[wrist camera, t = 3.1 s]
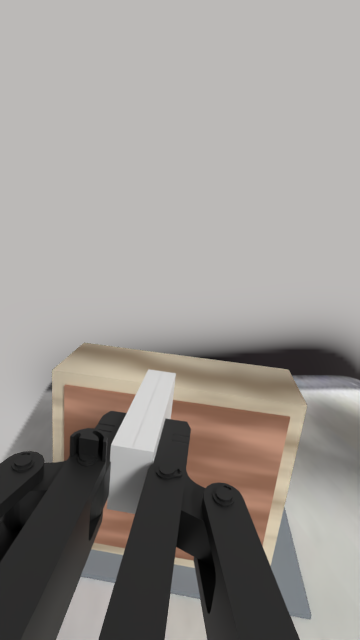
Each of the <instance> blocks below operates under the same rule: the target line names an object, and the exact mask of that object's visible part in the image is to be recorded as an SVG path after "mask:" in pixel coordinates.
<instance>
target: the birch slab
mask: <svg viewBox="0 0 360 640" xmlns="http://www.w3.org/2000/svg"><path fill="white" fill-rule="evenodd" d="M148 369H150V370H156V371H163V372H170V373H176V378H175V386H174V395H173V403H172V412H171V419H173V420H179V421H185V422H188V424H189V426H190V428H191V433H190V441H189V449H188V457H187V465H186V471H187V474H188V476H189V477H190V479H191V480H192V481H194V482H195V483H196V484H198V485H200V486H202V487H204V488H206V487H207V486H209V485H210V484H212V483H218V482H220V483H226V484H229V485H231V486H233V487H235V488H236V489H237V490H238V491H239V492H240V493H241V495H242V496H243V498H244V501H245V503H246V506H247V508H248V511H249V514H250V516H251V519H252V521H253V524H254V526H255V529H256V531H257V534H258V536H259V539H260V541H261V544H262V546H263V549H264V551H265V554H266V556H267V559H268V561H269V564H270V566H271V562H272V558H273V553H274V549H275V545H276V540H277V536H278V531H279V527H280V523H281V518H282V514H283V510H284V505H285V501H286V497H287V492H288V488H289V484H290V479H291V475H292V470H293V466H294V462H295V457H296V453H297V449H298V444H299V440H300V436H301V431H302V427H303V422H304V418H305V414H306V409H307V404H306V402H305V400H304V398H303V396H302V395H301V393H300V391H299V389H298V387H297V385H296V383H295V381H294V379H293V377H292V376H291V374H290V372H289V370H286V369H279V368H271V367H264V366H257V365H249V364H241V363H233V362H226V361H218V360H211V359H204V358H196V357H189V356H181V355H173V354H165V353H157V352H150V351H143V350H135V349H127V348H120V347H113V346H105V345H98V344H90V343H83V344H82V345H81V346H80V347H79V348H77V349H76V350H75V351H74V352H73V353H72V354H70V355H69V356H68V357H67V358H66V359H65V360H63V361H62V362H61V363H60V364H59V365H57V366H56V367H55V368H54V369H53V370H52V424H53V462H62V461H66V460H67V459H68V458H69V456H70V436H71V435H72V434H73V433H74V432H76V431H78V430H80V429H86V428H95V427H96V426H97V424H98V422H99V421H100V419H101V418H102V416H103V415H105V414H106V413H108V412H109V411H117V412H123V413H127V412H128V410H129V408H130V406H131V404H132V401H133V399H134V397H135V395H136V393H137V391H138V389H139V387H140V385H141V383H142V381H143V379H144V377H145V375H146V373H147V371H148ZM134 516H135V514H132V513H126V512H121V511H115V510H110V509H107V501H106V503H105V506H104V508H103V518H102V523H101V525H100V528H99V531H98V533H97V536H96V538H95V541H94V543H93V546H92V548H91V549H93V550H98V551H104V552H109V553H115V554H120V555H123V554H124V550H125V547H126V544H127V540H128V537H129V533H130V530H131V526H132V523H133V519H134ZM174 564H176V565H181V566H187V567H192V568H195V566H194V556H192V555H190V554H188V553H186V552H184V551H183V550H181V549H179V548H177V547H176V553H175V560H174Z"/></svg>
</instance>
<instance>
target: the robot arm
mask: <svg viewBox="0 0 360 640" xmlns="http://www.w3.org/2000/svg"><path fill="white" fill-rule="evenodd" d="M175 378H176V373H170V372H163V371H156V370H150V369H148V371H147V373H146V375H145V377H144V379H143V381H142V383H141V385H140V387H139V389H138V391H137V393H136V395H135V397H134V399H133V401H132V404H131V406H130V408H129V410H128V412H127V413H123V412H117V411H109V412H108V413H106V414H105V415H103V416H102V418H101V419H100V421H99V422H98V424H97V426H96V427H95V428H86V429H80V430H78V431H76V432H74V433H73V434H72V435H71V436H70V456H69V458H68V459H67V460H66V461H62V462H53V463H44V458H43V456H42V455H40V454H39V453H37V452H32V451H28V452H21V453H17V454H14V455H12V456H11V457H9V458H7V459H6V460H5V461H3V462H2V463H0V640H56V638H57V635H58V633H59V630H60V628H61V625H62V622H63V620H64V617H65V615H66V612H67V610H68V607H69V605H70V602H71V599H72V597H73V594H74V592H75V589H76V587H77V584H78V582H79V579H80V576H81V574H82V571H83V569H84V566H85V564H86V561H87V559H88V556H89V554H90V551H91V548H92V546H93V543H94V541H95V538H96V536H97V533H98V531H99V528H100V525H101V523H102V518H103V508H104V506H105V503H106V501H107V509H110V510H115V511H121V512H126V513H132V514H135V516H134V519H133V523H132V526H131V530H130V533H129V537H128V540H127V544H126V547H125V550H124V554H123V557H122V561H121V564H120V568H119V571H118V574H117V578H116V581H115V585H114V588H113V592H112V595H111V599H110V602H109V605H108V609H107V612H106V616H105V619H104V623H103V626H102V629H101V633H100V636H99V640H164V638H165V631H166V623H167V615H168V607H169V599H170V592H171V584H172V576H173V568H174V560H175V553H176V547H177V548H179V549H181V550H183V551H184V552H186V553H188V554H190V555H192V556H194V566H195V571H196V577H197V583H198V588H199V594H200V600H201V606H202V611H203V617H204V623H205V628H206V634H207V640H300V639H299V637H298V634H297V632H296V629H295V627H294V624H293V622H292V619H291V617H290V614H289V612H288V609H287V607H286V604H285V602H284V599H283V596H282V594H281V591H280V589H279V586H278V584H277V581H276V579H275V576H274V574H273V571H272V569H271V566H270V564H269V561H268V559H267V556H266V554H265V551H264V549H263V546H262V544H261V541H260V539H259V536H258V534H257V531H256V529H255V526H254V524H253V521H252V519H251V516H250V514H249V511H248V508H247V506H246V503H245V501H244V498H243V496H242V495H241V493H240V492H239V491H238V490H237V489H236V488H235V487H233V486H231V485H229V484H226V483H220V482H218V483H212V484H210V485H209V486H207V487H206V488H204V487H202V486H200V485H198V484H196V483H195V482H194V481H192V480H191V479H190V477H189V476H188V474H187V471H186V465H187V457H188V449H189V441H190V433H191V428H190V426H189V424H188V422H185V421H179V420H173V419H171V412H172V403H173V395H174V386H175Z"/></svg>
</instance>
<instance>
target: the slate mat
mask: <svg viewBox="0 0 360 640" xmlns="http://www.w3.org/2000/svg"><path fill="white" fill-rule="evenodd" d="M122 557H123V555H120V554H115V553H109V552H104V551H98V550H93V549H91V551H90V554H89V556H88V559H87V561H86V564H85V566H84V569H83V571H82V574H81V576H82V577H87V578H93V579H98V580H103V581H109V582H114V583H115V581H116V578H117V574H118V571H119V568H120V564H121V561H122ZM271 569H272V571H273V574H274V576H275V579H276V581H277V584H278V586H279V589H280V591H281V594H282V596H283V599H284V602H285V604H286V607H287V609H288V612H289V614H290V616H295V617H300V618H306V619H311V612H310V608H309V604H308V600H307V596H306V592H305V588H304V584H303V580H302V576H301V572H300V568H299V563H298V559H297V555H296V551H295V547H294V543H293V539H292V535H291V531H290V527H289V523H288V519H287V515H286V511H285V507H284V510H283V514H282V518H281V523H280V527H279V531H278V536H277V540H276V545H275V549H274V553H273V558H272V562H271ZM170 593H172V594H178V595H183V596H188V597H194V598H199V599H200V594H199V588H198V583H197V577H196V571H195V568H192V567H187V566H181V565H176V564H174V568H173V576H172V584H171V592H170Z"/></svg>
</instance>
